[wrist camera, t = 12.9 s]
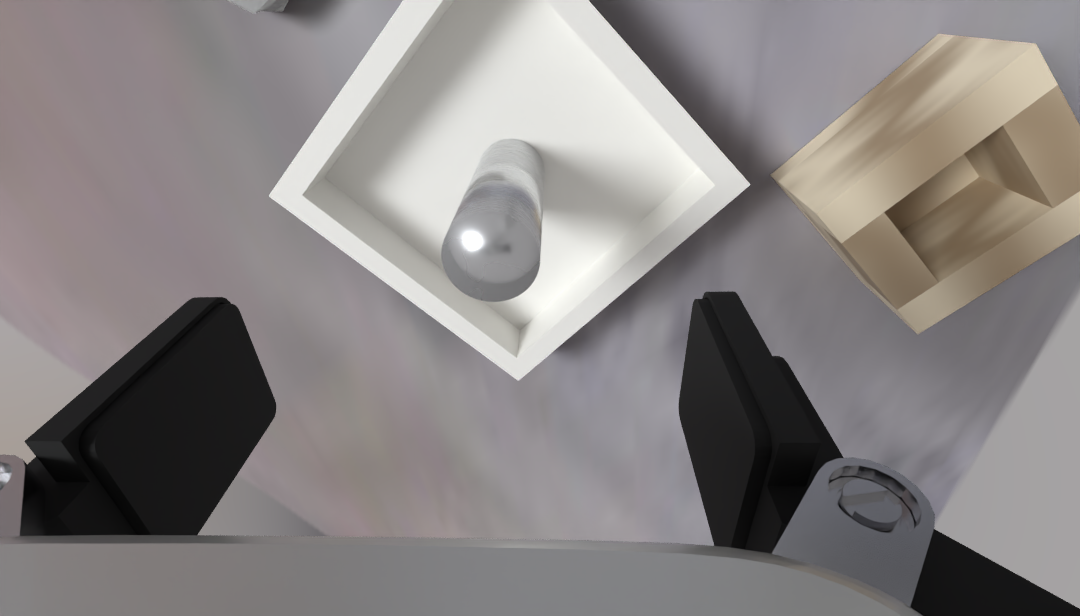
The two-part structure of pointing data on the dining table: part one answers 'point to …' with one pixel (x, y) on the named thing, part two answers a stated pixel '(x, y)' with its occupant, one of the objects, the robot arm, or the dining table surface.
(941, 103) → the tan hollow square block
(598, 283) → the tray
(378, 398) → the dining table surface
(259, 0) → the pulley system
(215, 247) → the dining table surface
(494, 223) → the pin
